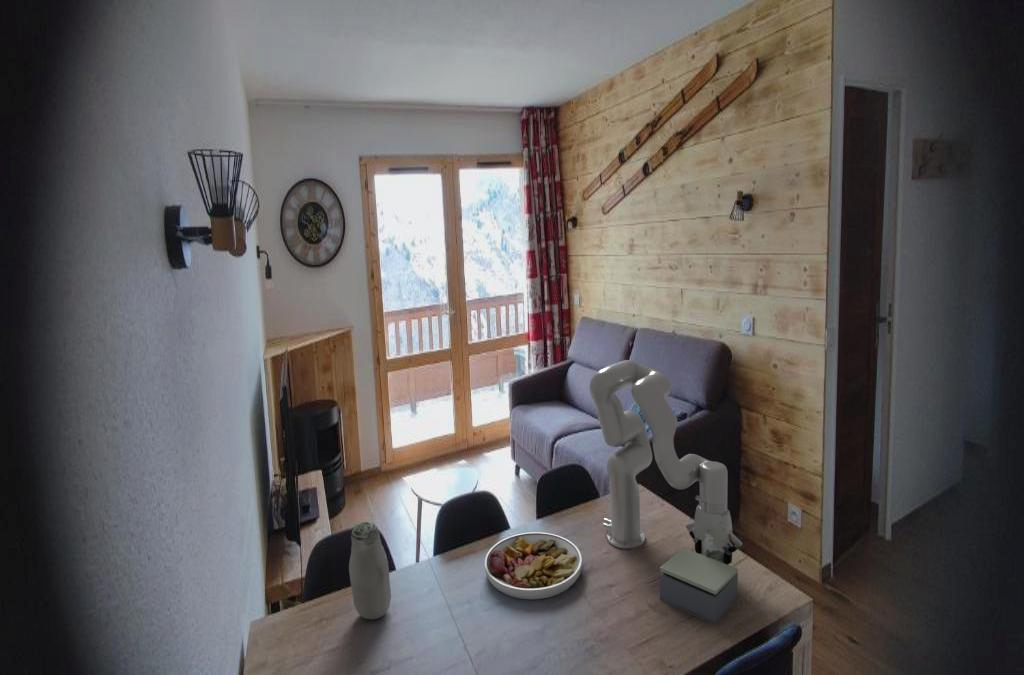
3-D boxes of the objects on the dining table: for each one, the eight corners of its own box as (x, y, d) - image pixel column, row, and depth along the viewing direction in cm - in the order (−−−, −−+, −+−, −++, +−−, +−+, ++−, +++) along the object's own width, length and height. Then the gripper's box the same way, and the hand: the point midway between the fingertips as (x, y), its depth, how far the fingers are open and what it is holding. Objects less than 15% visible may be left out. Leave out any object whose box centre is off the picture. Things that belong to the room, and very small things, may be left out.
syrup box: (720, 568, 167) (720, 524, 164) (725, 580, 161) (726, 535, 158) (700, 568, 167) (700, 524, 165) (705, 580, 162) (705, 535, 159)
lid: (659, 570, 153) (659, 567, 153) (683, 551, 163) (683, 547, 163) (715, 594, 142) (715, 591, 142) (737, 572, 152) (737, 568, 152)
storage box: (659, 599, 155) (659, 574, 153) (683, 575, 164) (683, 551, 163) (715, 625, 144) (715, 598, 142) (737, 598, 153) (737, 572, 152)
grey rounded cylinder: (349, 623, 153) (336, 531, 148) (371, 599, 162) (360, 512, 157) (378, 630, 149) (367, 537, 144) (399, 606, 159) (389, 517, 153)
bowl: (559, 537, 189) (557, 516, 188) (599, 589, 161) (599, 565, 160) (474, 558, 180) (472, 536, 179) (502, 617, 152) (500, 592, 151)
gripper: (679, 500, 163) (679, 554, 167) (738, 519, 151) (737, 576, 155) (691, 491, 169) (691, 543, 172) (748, 508, 157) (747, 563, 160)
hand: (713, 558), depth 163 cm, fingers closed on syrup box, 8 cm apart
